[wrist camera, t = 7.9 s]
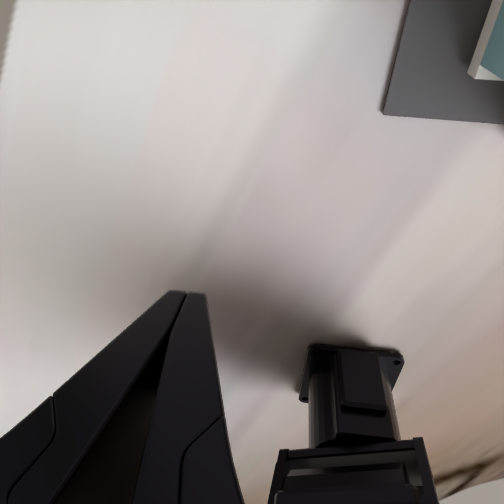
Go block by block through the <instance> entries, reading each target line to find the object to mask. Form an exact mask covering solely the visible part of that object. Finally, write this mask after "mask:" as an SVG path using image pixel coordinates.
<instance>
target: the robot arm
mask: <svg viewBox="0 0 504 504" xmlns="http://www.w3.org/2000/svg"><path fill="white" fill-rule="evenodd" d="M403 365H404V358H403V356H402V355H401V354H399V353H391V352H382V351H373V350H364V349H355V348H346V347H337V346H328V345H319V344H312V345H310V346H309V347H308V350H307V356H306V361H305V366H304V371H303V376H302V381H301V386H300V391H299V400H300V401H301V402H304V403H309V448H307V449H296V450H289V449H280V451H279V455H278V460H277V462H276V466H275V470H274V475H273V480H272V485H271V489H270V494H269V499H268V504H439V500H438V496H437V492H436V488H435V483H434V479H433V475H432V471H431V468H430V464H429V460H428V456H427V452H426V449H425V445H424V441H423V437H415V438H413V439H412V440H401V437H400V432H399V427H398V422H397V417H396V411H395V406H394V401H393V396H392V390H393V388H394V385H395V383H396V381H397V379H398V376H399V374H400V372H401V370H402V367H403ZM0 504H245V503H244V499H243V496H242V493H241V489H240V485H239V482H238V478H237V474H236V470H235V467H234V463H233V458H232V453H231V448H230V443H229V437H228V431H227V425H226V419H225V413H224V407H223V400H222V394H221V387H220V381H219V374H218V368H217V361H216V355H215V348H214V342H213V335H212V329H211V323H210V316H209V310H208V303H207V297H206V294H205V293H200V292H189V293H187V292H186V291H181V290H169V291H168V292H167V293H165V294H164V295H163V296H162V297H161V298H160V299H159V300H158V301H156V302H155V303H154V304H153V305H152V306H151V307H150V308H149V309H147V310H146V311H145V312H144V313H143V314H142V315H141V316H140V317H138V318H137V319H136V320H135V321H134V322H133V323H132V324H131V325H129V326H128V327H127V328H126V329H125V330H124V331H123V332H122V333H120V334H119V335H118V336H117V337H116V338H115V339H114V340H113V341H111V342H110V343H109V344H108V345H107V346H106V347H105V348H104V349H102V350H101V351H100V352H99V353H98V354H97V355H96V356H95V357H93V358H92V359H91V360H90V361H89V362H88V363H87V364H86V365H84V366H83V367H82V368H81V369H80V370H79V371H78V372H77V373H75V374H74V375H73V376H72V377H71V378H70V379H69V380H68V381H66V382H65V383H64V384H63V385H62V386H61V387H60V388H59V389H57V390H56V391H55V392H54V393H53V396H49V397H48V398H47V399H46V400H45V401H44V402H43V403H41V404H40V405H39V406H38V407H37V408H36V409H35V410H34V411H32V412H31V413H30V414H29V415H28V416H26V417H25V418H24V419H23V420H22V421H21V422H19V423H18V424H17V425H16V426H15V427H13V428H12V429H11V430H10V431H9V432H7V433H6V434H5V435H4V436H2V437H1V438H0Z"/></svg>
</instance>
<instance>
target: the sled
mask: <svg viewBox="0 0 504 504" xmlns="http://www.w3.org/2000/svg"><path fill="white" fill-rule="evenodd" d="M467 73H468V74H469V75H470V76H472V77H473V78H474V79H484V80H498V81H504V0H492V3H491V6H490V9H489V12H488V15H487V18H486V20H485V23H484V26H483V29H482V32H481V35H480V38H479V40H478V43H477V46H476V49H475V52H474V55H473V58H472V61H471V63H470V66H469V69H468V72H467Z"/></svg>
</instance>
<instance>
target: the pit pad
mask: <svg viewBox="0 0 504 504" xmlns="http://www.w3.org/2000/svg"><path fill="white" fill-rule="evenodd" d="M491 3H492V0H410V1H409V5H408V9H407V13H406V18H405V22H404V26H403V30H402V34H401V38H400V43H399V47H398V51H397V55H396V59H395V63H394V67H393V72H392V76H391V80H390V84H389V88H388V92H387V96H386V101H385V105H384V109H383V113H382V114H383V115H390V116H403V117H416V118H429V119H442V120H455V121H468V122H481V123H494V124H504V81H498V80H484V79H474V78H473V77H472V76H470V75H469V74H468V73H467V72H468V69H469V66H470V63H471V61H472V58H473V55H474V52H475V49H476V46H477V43H478V40H479V38H480V35H481V32H482V29H483V26H484V23H485V20H486V18H487V15H488V12H489V9H490V6H491Z"/></svg>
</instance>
